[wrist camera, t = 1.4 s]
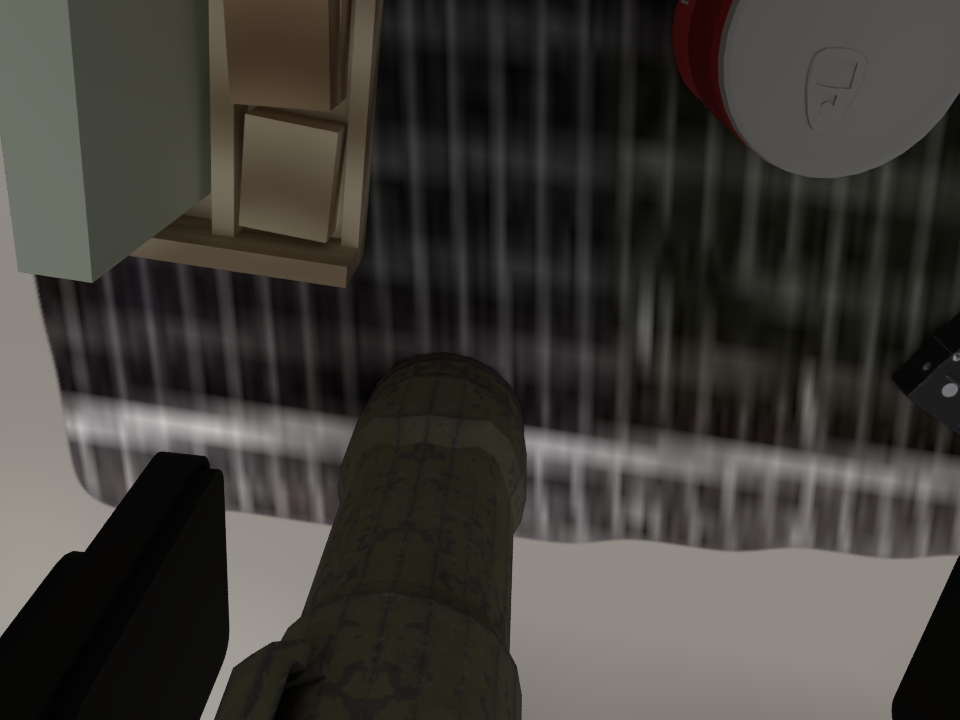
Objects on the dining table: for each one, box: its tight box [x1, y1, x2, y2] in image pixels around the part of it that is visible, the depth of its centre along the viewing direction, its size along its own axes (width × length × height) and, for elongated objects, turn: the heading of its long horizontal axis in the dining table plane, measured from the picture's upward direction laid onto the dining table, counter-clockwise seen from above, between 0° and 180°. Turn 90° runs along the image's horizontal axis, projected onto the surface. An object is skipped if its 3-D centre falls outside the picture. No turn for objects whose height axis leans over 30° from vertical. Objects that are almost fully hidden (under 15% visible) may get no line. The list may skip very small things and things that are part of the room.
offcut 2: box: [239, 106, 348, 243], centre depth 37 cm, size 5×4×2 cm
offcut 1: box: [223, 0, 341, 111], centre depth 32 cm, size 5×4×2 cm
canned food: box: [672, 0, 960, 178], centre depth 30 cm, size 8×8×11 cm
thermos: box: [214, 353, 527, 720], centre depth 29 cm, size 9×12×35 cm
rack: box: [128, 0, 383, 288], centre depth 35 cm, size 14×11×4 cm
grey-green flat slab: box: [0, 0, 211, 283], centre depth 31 cm, size 9×2×12 cm, turn 172°
